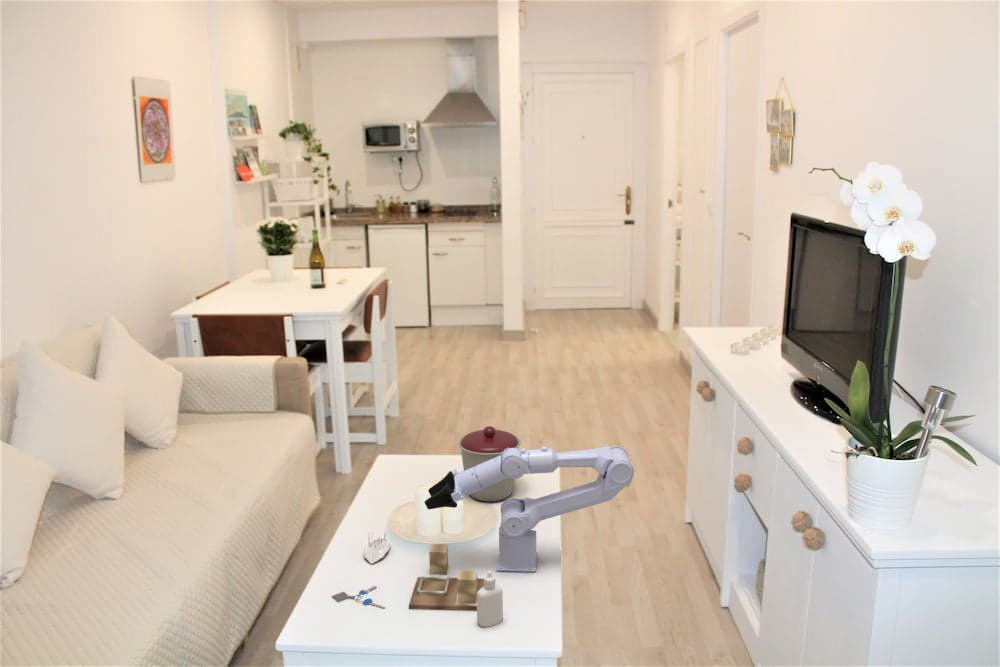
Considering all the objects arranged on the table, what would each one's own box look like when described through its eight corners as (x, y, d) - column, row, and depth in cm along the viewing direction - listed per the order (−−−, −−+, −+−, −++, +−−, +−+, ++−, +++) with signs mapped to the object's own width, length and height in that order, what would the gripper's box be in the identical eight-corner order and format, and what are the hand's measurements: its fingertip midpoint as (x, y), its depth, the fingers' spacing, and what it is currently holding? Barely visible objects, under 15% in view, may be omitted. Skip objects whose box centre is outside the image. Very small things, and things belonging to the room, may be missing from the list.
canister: (466, 511, 235) (464, 440, 230) (454, 485, 252) (452, 419, 247) (528, 503, 239) (527, 434, 234) (512, 479, 256) (511, 414, 251)
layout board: (484, 582, 197) (484, 555, 196) (480, 610, 186) (479, 582, 184) (417, 580, 199) (416, 554, 197) (409, 608, 187) (407, 580, 185)
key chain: (328, 602, 191) (327, 598, 190) (343, 583, 198) (343, 580, 198) (384, 610, 187) (384, 607, 187) (398, 592, 195) (398, 588, 195)
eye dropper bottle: (477, 616, 184) (476, 567, 181) (502, 615, 184) (502, 566, 181) (476, 627, 180) (475, 577, 177) (502, 627, 180) (502, 577, 177)
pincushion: (383, 566, 206) (382, 545, 204) (359, 565, 206) (358, 544, 205) (394, 543, 217) (393, 523, 216) (371, 542, 218) (370, 522, 217)
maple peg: (448, 566, 205) (447, 544, 203) (446, 575, 201) (445, 552, 200) (432, 566, 205) (431, 544, 204) (430, 574, 201) (429, 552, 200)
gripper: (473, 453, 207) (424, 474, 208) (469, 473, 193) (417, 496, 194) (485, 478, 208) (436, 499, 209) (482, 499, 194) (430, 522, 195)
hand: (428, 499), depth 202 cm, fingers open, 7 cm apart
